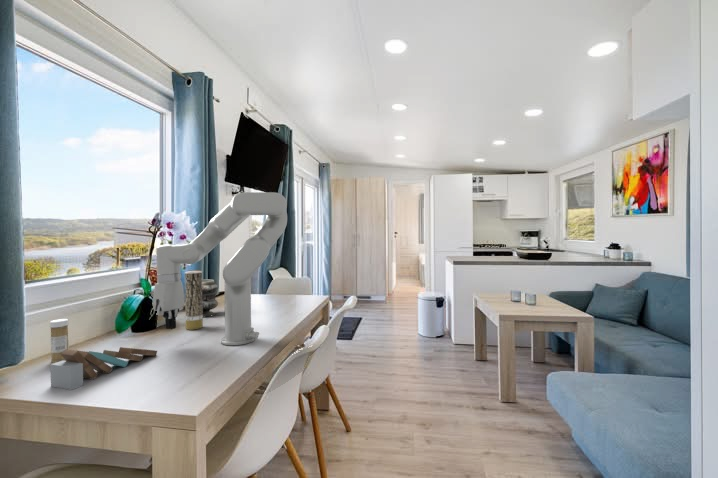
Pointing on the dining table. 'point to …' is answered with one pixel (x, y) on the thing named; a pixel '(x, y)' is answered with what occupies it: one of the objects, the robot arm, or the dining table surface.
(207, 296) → the stacked stone tower
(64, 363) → the end block
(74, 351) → the domino
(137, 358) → the domino
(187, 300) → the paper tube
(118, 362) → the domino
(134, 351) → the domino
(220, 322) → the dining table surface
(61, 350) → the sprinkles bottle
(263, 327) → the dining table surface
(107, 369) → the domino
